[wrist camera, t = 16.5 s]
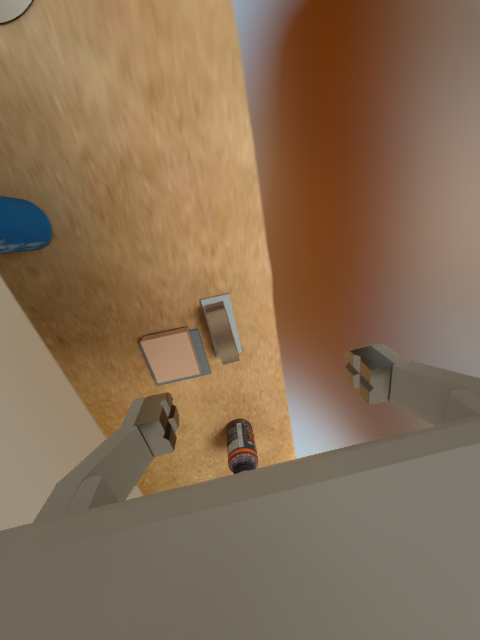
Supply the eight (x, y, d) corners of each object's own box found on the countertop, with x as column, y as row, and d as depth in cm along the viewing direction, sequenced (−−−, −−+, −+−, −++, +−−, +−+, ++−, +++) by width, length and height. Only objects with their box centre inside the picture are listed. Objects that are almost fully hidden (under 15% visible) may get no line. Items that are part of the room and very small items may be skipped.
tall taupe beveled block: (206, 305, 38) (205, 313, 34) (223, 300, 38) (224, 308, 34) (222, 352, 42) (222, 364, 38) (237, 348, 42) (239, 360, 38)
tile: (140, 341, 37) (157, 383, 41) (186, 331, 37) (200, 373, 41) (143, 336, 39) (160, 376, 43) (187, 326, 39) (200, 367, 43)
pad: (200, 299, 38) (200, 300, 38) (228, 293, 38) (229, 293, 38) (216, 356, 43) (216, 358, 42) (241, 351, 43) (242, 352, 43)
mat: (138, 341, 40) (137, 343, 40) (197, 328, 40) (197, 329, 40) (157, 384, 44) (156, 386, 44) (210, 372, 44) (210, 373, 44)
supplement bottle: (256, 429, 52) (267, 479, 41) (235, 440, 53) (240, 493, 42) (243, 414, 50) (251, 463, 39) (221, 426, 50) (223, 478, 40)
